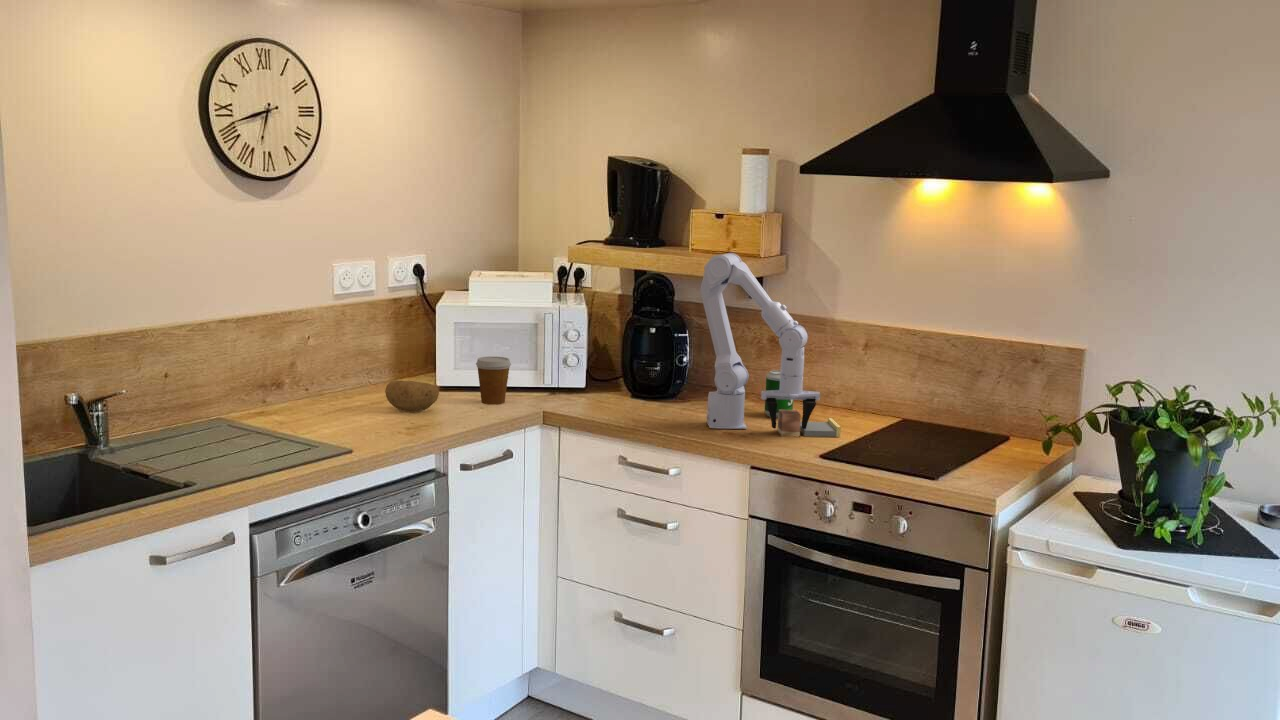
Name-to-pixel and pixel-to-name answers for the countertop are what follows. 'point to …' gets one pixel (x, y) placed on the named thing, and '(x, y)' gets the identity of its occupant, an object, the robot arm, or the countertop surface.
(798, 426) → the brown rectangular block
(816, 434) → the dock
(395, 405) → the potato
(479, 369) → the disposable coffee cup
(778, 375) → the soda can
